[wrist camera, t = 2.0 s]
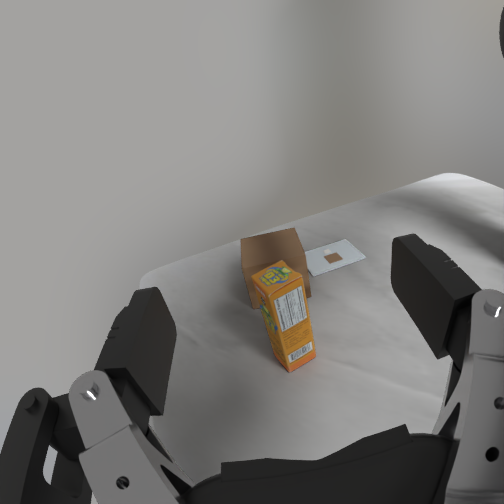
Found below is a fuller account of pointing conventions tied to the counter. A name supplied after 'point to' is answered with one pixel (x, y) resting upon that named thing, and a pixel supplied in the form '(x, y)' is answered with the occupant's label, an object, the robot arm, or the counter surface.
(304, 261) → the base brick
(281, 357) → the supplement box
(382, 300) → the counter surface
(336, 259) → the page
